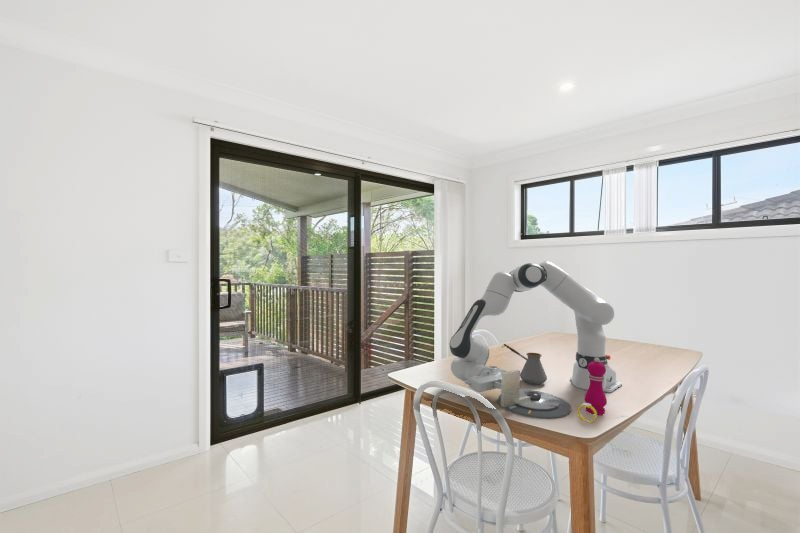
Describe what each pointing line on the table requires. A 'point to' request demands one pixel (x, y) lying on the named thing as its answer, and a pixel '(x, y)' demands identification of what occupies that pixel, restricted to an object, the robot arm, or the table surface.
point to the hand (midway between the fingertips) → (508, 387)
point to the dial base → (560, 412)
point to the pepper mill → (596, 387)
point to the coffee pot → (531, 368)
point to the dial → (524, 394)
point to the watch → (588, 407)
